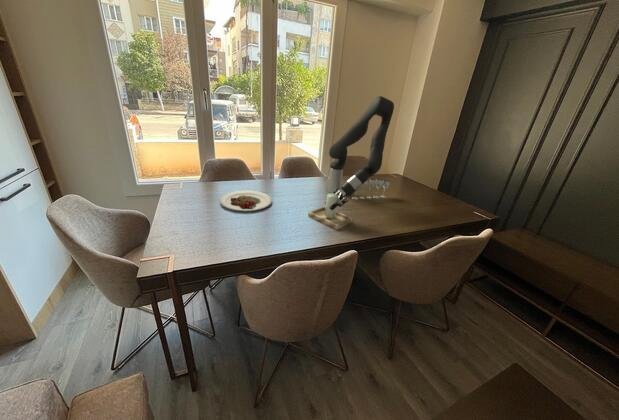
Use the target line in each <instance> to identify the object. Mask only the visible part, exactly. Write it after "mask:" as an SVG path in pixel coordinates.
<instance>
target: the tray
mask: <svg viewBox="0 0 619 420" xmlns="http://www.w3.org/2000/svg"><path fill="white" fill-rule="evenodd" d="M325 210H326V205H323V206H321V207H319V208H316V209H313V210H310V211H308V215H307V217H308V218H311V219H313V220H315V221H317V222H319V223H321V224H322V225H325V226H327V227H329V228H331V229H334V230H336V231H338V230H340V229H342V228H343V227H345V226H347V225H349V224H351V223H352V221H353V218H352V217H350V216H348V215H345V214H343V213H342V212H339V211H337V210H336V217H334V218H328V217H326V216H325Z"/></svg>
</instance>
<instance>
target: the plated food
mask: <svg viewBox="0 0 619 420" xmlns="http://www.w3.org/2000/svg"><path fill="white" fill-rule="evenodd" d="M219 202H220V205H222V206H223V207H224V208H226V209H228V210H229V209H230V210H232V211H240V212H252V211H259V210H262V209H265V208H267V207H269V206H270V205H271V204H272V202H273V199H272V197H271V196H270V195H269V194H267V193H264V192H261V191H256V190H249V189H248V190H236V191H232V192H228V193H225V194H224V195H223V196H221V198H220V200H219Z"/></svg>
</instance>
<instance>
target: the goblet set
mask: <svg viewBox="0 0 619 420" xmlns="http://www.w3.org/2000/svg"><path fill="white" fill-rule="evenodd" d="M368 181H369V182H368ZM390 182H391V181H390V180H389V179H383V178H379V177H378V178H376V179H375V178H369V179H368V180H367V181H366V182H365V183H363V184H362V185H361V187H362V195H361V196H359V197H357V196H356V194H357V192H358V190H359V189H361V187H360V188H359V189H358V190H357V191H355V192H354V196H351V199H352V200H358V199H362V200H365V197H364V192H365V190H366V187H367V186H368V185H369V193H371V192H372V189H374V187H376V195H373V196H371V194H369V195H367V196H366V198H367V199H372V198H374V199H380V198H384V199H386V198H387V196H386V195H385V192H386V190H387V189H388V188H389V186H390ZM382 187H383V193H382V194H381V195H379V196H378V192H379V190H380V189H381V188H382Z"/></svg>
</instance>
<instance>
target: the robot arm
mask: <svg viewBox="0 0 619 420" xmlns="http://www.w3.org/2000/svg"><path fill="white" fill-rule="evenodd" d="M394 109H395V103H394V101H392V100H390V99H389V98H386V97H385V96H381V95H379V96H377V97H376V98H375V99H373V100H372V102H371V103H370V104H369V106H368V107H367V108H366V110H365V111H364V112H363V113H362V114H361V115H360V117H359V118H358V119H357V120H356V121H355V122H354V123H353V124H352V125H351V126H350V128H348V130H347V131H346V132H345V133H344V134H343V135H342V136H341V137H340V138H339V139H338V140H337V141H336V142H335V143H334V144H332V145H331V146H330V148H329V151H328V154H329V156H330V158H331V159H334V160H333V161H332V162H330V166H329V173H328V177H327V180H326V186H325V191H327V192H328V193H329V194H330V193H333V194H337V195H338V198H337V201H336V202H335V203H334V204H333V205H332V206H331V207H330V209H331V210H334V209H335V208H336V207H337V208H338V207H339V208H341V207H342V206H344V205H345V204H346V203H348V202H349V201H350V200H349V198H348V197H352V196H353V194H355V191H357V192H358V190H359V188H360V187H362V184H363V183H365V182H366V181H367V180H368V181H369V180H370V179H371V177H372V176H374V175H375V174H377V173H378V172H379V171H380V170H381V168H382V166H383V165H382V164H383V157H384V155H383V154H384V151H385V150H384V149H385V143H386V137H387V132H388V129H389V127H390V124H391V120H392V117H393V114H394ZM374 116H378V117H380V118H381V121H380V125H379V127H378V128H377V129H376V130H375V132H374V133H373V135H372V138H371V141H370V147H369V148H370V149H369V156H368V161H367V164H366V165H364V167H363V168H360V169H358V170H357V171H356V172H355V173H354V174H353V175H352V176H350V177H349V178H348V179H347V180H346V181H344V182H343V184H342V180H343V179H342V178H343V174H344V167H345V165H346V161H347V157H348V147H350V146H353V145H354V144H356V143H357V142H358V141H360V140H361V139H362V138H363V137H364V136H365V135H366V134H367V132H368V130H369V129H368V128H369V123H370V121H371V119H372V118H373V117H374ZM360 189H361V188H360ZM325 204H326V201H325Z"/></svg>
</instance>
